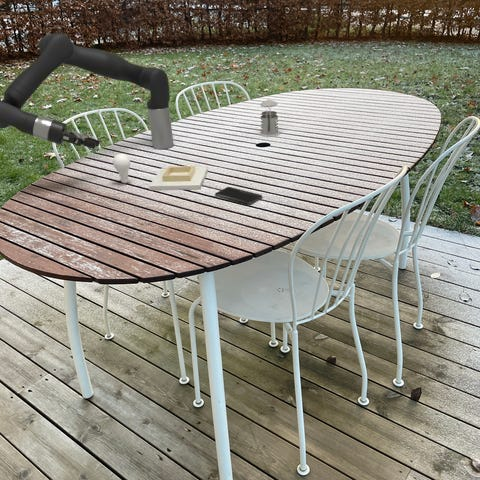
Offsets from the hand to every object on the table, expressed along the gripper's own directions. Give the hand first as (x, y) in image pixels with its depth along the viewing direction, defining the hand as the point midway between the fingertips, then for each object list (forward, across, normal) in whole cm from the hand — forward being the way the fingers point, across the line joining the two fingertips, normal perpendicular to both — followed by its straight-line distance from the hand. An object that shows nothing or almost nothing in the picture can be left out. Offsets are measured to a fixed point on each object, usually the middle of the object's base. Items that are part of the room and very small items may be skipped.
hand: (97, 144), depth 165 cm
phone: (+50, -21, 0) cm, 54 cm away
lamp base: (+31, 0, +3) cm, 31 cm away
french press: (+67, +46, -22) cm, 84 cm away
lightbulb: (+13, +2, +11) cm, 17 cm away
